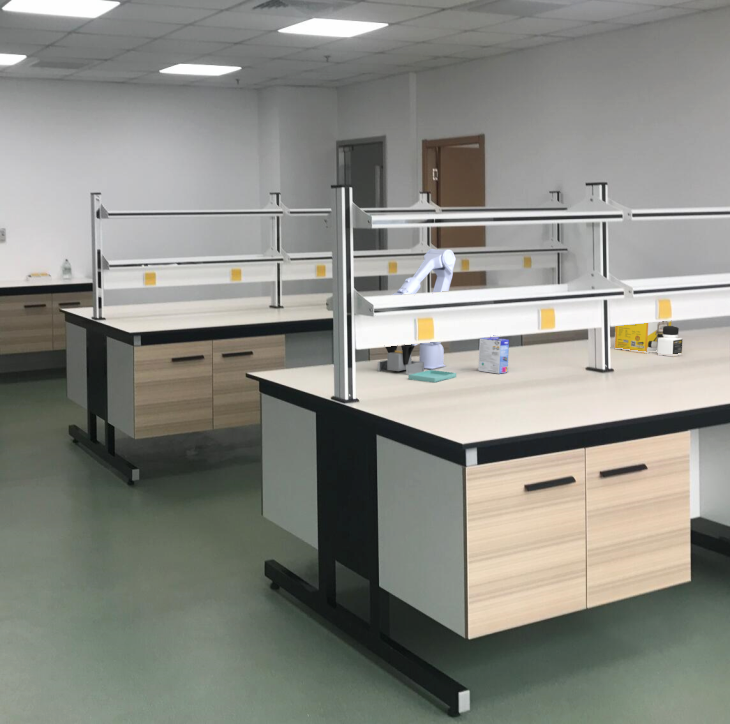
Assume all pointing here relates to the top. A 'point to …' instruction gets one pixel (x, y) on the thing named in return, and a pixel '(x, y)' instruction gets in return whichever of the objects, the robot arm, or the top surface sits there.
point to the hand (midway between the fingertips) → (399, 363)
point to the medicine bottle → (670, 341)
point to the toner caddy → (396, 361)
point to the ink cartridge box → (493, 355)
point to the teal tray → (432, 376)
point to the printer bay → (410, 369)
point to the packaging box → (640, 336)
